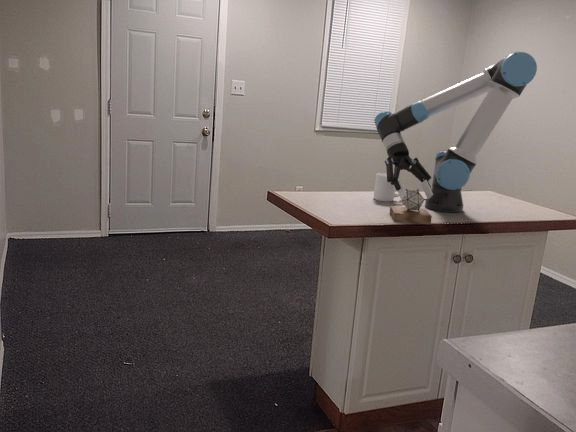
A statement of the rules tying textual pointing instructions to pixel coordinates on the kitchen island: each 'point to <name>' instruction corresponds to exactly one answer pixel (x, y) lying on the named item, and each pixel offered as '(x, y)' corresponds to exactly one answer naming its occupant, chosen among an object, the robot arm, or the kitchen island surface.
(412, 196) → the game die
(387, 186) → the mug
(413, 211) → the pedestal
